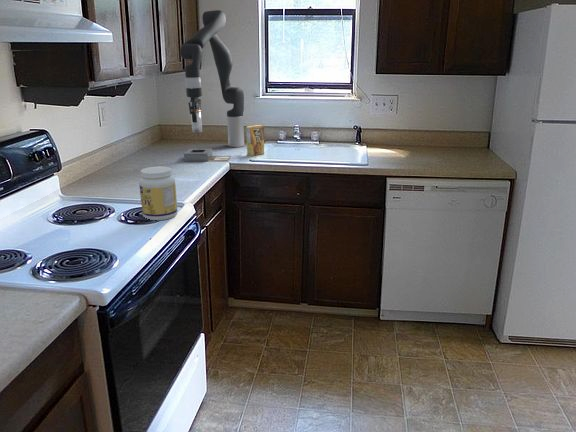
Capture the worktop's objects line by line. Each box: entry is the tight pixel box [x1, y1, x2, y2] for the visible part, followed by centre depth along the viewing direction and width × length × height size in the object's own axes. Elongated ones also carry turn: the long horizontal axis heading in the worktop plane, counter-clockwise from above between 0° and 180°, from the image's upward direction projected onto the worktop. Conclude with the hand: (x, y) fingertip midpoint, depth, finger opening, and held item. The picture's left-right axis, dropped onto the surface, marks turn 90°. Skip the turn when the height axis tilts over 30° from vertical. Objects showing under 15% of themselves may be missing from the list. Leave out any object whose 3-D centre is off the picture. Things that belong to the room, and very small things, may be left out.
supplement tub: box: [138, 165, 179, 221], centre depth 182 cm, size 12×12×17 cm
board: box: [183, 155, 232, 163], centre depth 267 cm, size 13×22×1 cm, turn 87°
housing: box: [183, 148, 213, 161], centre depth 267 cm, size 12×12×4 cm
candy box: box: [245, 124, 265, 157], centre depth 277 cm, size 9×4×15 cm, turn 129°
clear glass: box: [190, 109, 203, 134], centre depth 261 cm, size 5×5×11 cm
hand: (196, 121), depth 261 cm, fingers closed on clear glass, 5 cm apart
